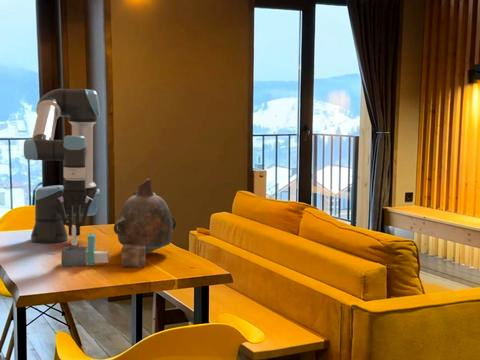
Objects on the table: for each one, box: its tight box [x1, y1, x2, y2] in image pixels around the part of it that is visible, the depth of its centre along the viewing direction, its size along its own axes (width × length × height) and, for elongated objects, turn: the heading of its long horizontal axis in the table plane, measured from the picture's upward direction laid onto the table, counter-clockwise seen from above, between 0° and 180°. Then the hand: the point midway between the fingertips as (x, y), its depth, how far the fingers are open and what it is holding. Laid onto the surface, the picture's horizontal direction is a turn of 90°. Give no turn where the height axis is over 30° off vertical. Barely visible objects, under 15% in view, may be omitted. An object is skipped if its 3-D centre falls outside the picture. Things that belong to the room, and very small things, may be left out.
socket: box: [121, 244, 146, 269], centre depth 231 cm, size 8×8×7 cm
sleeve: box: [60, 246, 88, 268], centre depth 229 cm, size 8×7×6 cm
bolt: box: [85, 233, 110, 266], centre depth 229 cm, size 16×5×10 cm, turn 96°
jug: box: [113, 178, 176, 255], centre depth 249 cm, size 24×21×30 cm
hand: (74, 244), depth 228 cm, fingers closed
